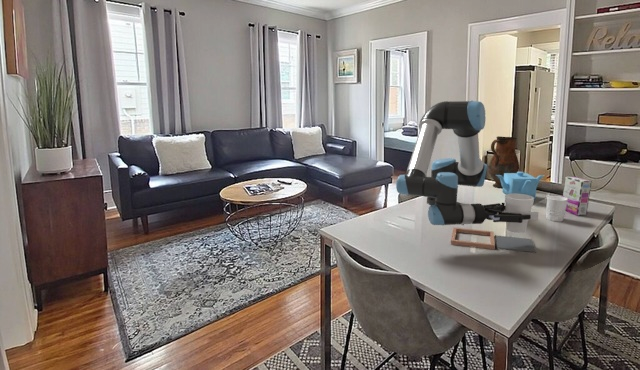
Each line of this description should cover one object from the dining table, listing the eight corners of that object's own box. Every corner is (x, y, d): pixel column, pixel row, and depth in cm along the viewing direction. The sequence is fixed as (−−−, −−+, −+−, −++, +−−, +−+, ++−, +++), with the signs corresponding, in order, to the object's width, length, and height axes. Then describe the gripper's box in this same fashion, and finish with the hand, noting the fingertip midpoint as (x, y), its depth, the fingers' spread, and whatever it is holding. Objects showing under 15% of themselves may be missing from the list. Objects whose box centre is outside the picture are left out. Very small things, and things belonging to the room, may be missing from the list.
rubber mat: (496, 248, 144) (496, 247, 144) (495, 236, 155) (495, 235, 155) (536, 252, 139) (536, 251, 139) (531, 240, 151) (531, 239, 151)
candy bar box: (587, 215, 177) (592, 181, 173) (577, 216, 177) (582, 181, 173) (570, 208, 188) (574, 175, 184) (560, 209, 188) (564, 176, 184)
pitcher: (523, 186, 230) (528, 136, 223) (501, 192, 220) (506, 140, 213) (498, 181, 244) (502, 134, 237) (476, 186, 234) (480, 137, 227)
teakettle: (509, 192, 219) (511, 167, 216) (544, 199, 205) (547, 172, 201) (492, 198, 208) (494, 172, 205) (527, 206, 194) (530, 177, 190)
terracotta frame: (450, 244, 149) (451, 240, 148) (453, 230, 162) (453, 227, 162) (494, 249, 143) (494, 245, 143) (493, 235, 157) (493, 231, 156)
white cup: (567, 222, 169) (570, 200, 167) (548, 221, 171) (550, 200, 168) (560, 216, 176) (563, 195, 174) (541, 216, 178) (544, 195, 176)
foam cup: (504, 224, 152) (508, 192, 149) (531, 228, 147) (535, 195, 144) (500, 231, 144) (503, 197, 141) (528, 236, 139) (531, 201, 136)
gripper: (458, 214, 155) (512, 212, 156) (483, 233, 133) (546, 231, 134) (459, 196, 153) (514, 194, 154) (485, 213, 131) (549, 210, 133)
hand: (529, 211), depth 144 cm, fingers closed on foam cup, 9 cm apart
